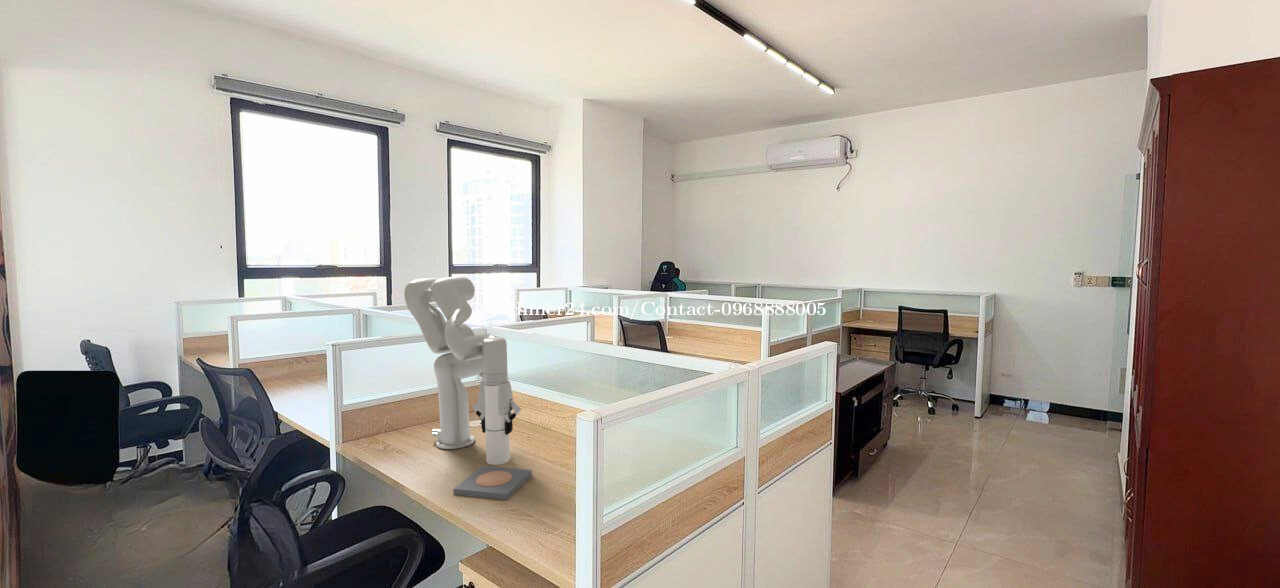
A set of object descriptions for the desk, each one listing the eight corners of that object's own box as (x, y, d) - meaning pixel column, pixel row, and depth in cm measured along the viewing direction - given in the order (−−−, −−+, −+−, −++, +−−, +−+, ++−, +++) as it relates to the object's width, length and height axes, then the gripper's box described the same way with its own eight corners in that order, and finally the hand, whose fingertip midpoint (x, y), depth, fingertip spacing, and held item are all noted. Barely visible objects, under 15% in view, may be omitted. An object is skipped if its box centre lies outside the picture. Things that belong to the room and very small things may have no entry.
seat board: (453, 494, 151) (453, 488, 151) (482, 470, 167) (482, 464, 167) (506, 499, 148) (506, 493, 148) (531, 475, 163) (531, 469, 163)
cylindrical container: (514, 457, 177) (511, 381, 174) (501, 466, 170) (498, 387, 168) (495, 454, 179) (492, 379, 177) (481, 463, 172) (478, 385, 170)
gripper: (463, 378, 170) (466, 434, 172) (515, 381, 166) (517, 438, 168) (476, 372, 177) (478, 426, 179) (526, 375, 173) (527, 430, 175)
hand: (497, 431), depth 174 cm, fingers closed on cylindrical container, 7 cm apart
